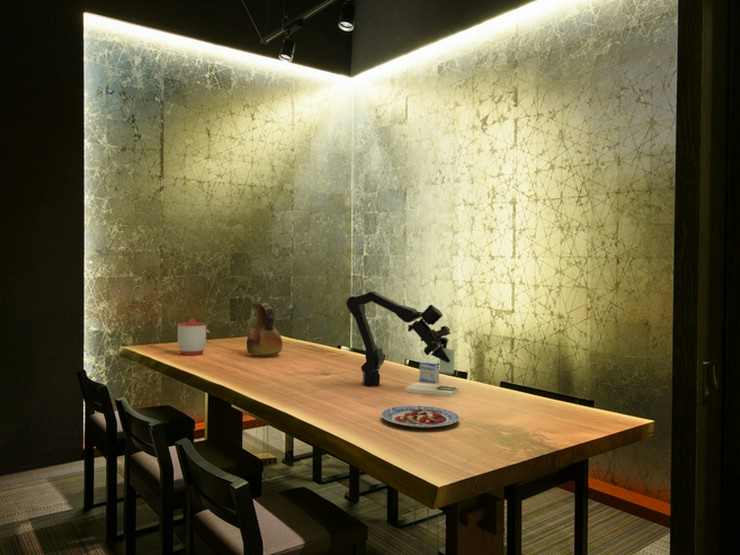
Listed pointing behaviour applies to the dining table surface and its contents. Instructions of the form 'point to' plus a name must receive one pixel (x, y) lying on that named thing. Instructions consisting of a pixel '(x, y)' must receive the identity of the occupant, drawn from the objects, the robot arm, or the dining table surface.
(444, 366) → the grey green upright block
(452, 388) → the ticket base
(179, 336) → the citrus juicer
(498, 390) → the dining table surface
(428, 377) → the medicine box
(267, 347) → the ceramic pitcher
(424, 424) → the ceramic plate
